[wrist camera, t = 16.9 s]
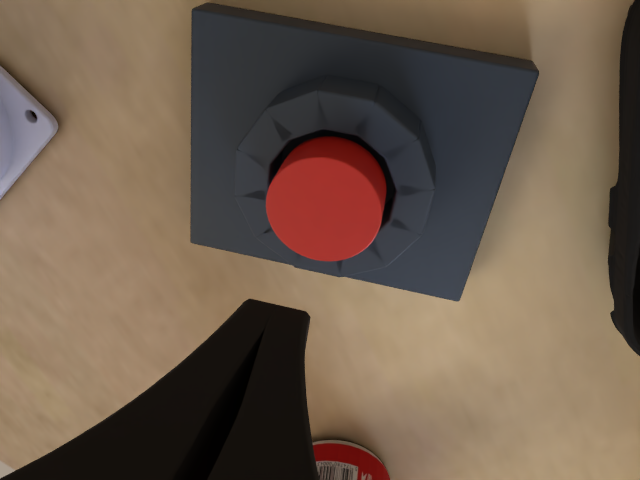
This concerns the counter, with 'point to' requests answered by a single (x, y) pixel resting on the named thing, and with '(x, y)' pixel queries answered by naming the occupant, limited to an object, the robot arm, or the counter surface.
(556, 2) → the counter surface
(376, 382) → the counter surface
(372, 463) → the beverage can
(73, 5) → the counter surface
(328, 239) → the power button
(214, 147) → the switch block
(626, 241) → the egg carton
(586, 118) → the counter surface
